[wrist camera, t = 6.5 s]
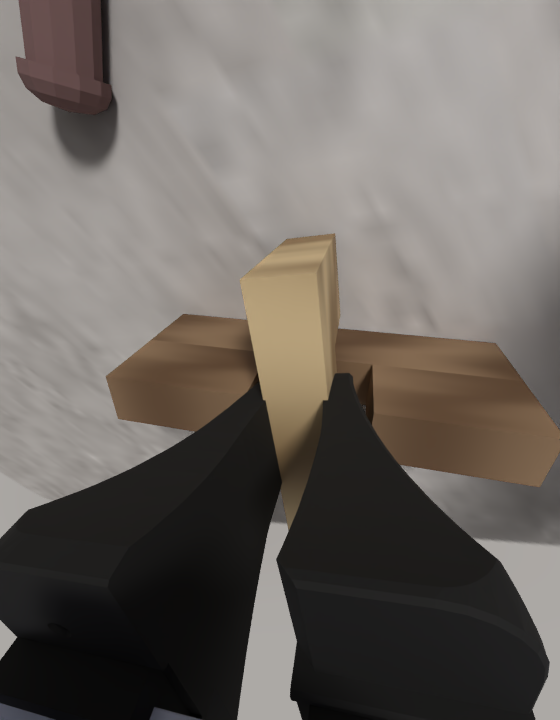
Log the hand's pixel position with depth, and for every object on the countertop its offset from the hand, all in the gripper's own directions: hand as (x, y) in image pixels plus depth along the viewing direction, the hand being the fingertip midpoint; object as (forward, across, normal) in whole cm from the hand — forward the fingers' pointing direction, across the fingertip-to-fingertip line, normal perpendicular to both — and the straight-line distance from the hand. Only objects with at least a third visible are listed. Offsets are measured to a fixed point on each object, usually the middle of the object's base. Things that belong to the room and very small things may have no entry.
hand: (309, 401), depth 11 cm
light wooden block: (+3, 0, 0) cm, 3 cm away
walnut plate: (+4, 0, 0) cm, 4 cm away
